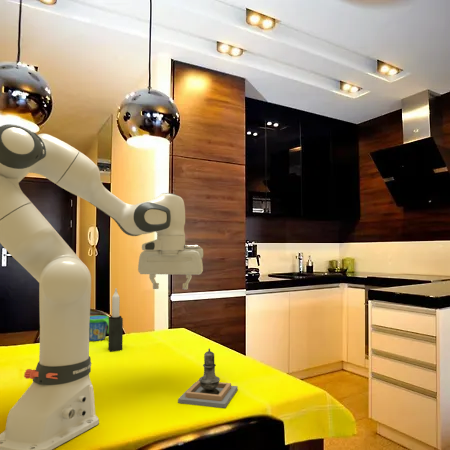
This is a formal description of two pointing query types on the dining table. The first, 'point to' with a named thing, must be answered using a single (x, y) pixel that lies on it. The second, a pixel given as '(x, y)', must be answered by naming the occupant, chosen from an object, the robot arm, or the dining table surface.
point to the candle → (115, 325)
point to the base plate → (209, 395)
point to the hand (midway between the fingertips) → (170, 289)
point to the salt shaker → (209, 375)
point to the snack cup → (98, 327)
